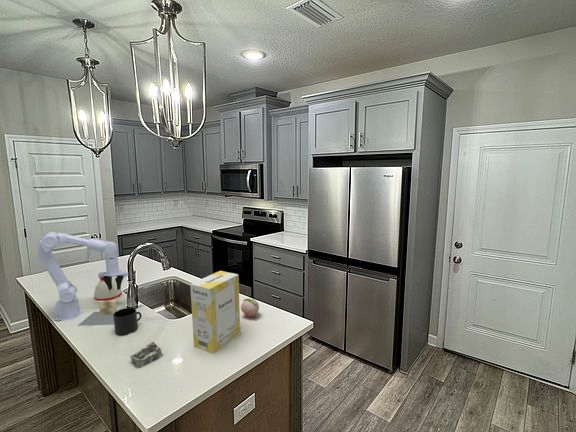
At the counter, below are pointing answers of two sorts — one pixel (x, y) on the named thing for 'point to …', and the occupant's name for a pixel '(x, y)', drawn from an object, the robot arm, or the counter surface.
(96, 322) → the picture frame
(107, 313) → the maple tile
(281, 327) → the counter surface
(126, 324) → the mug
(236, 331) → the pasta box
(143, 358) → the grey rough flat block
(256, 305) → the decorative fruit
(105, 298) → the cream dome
